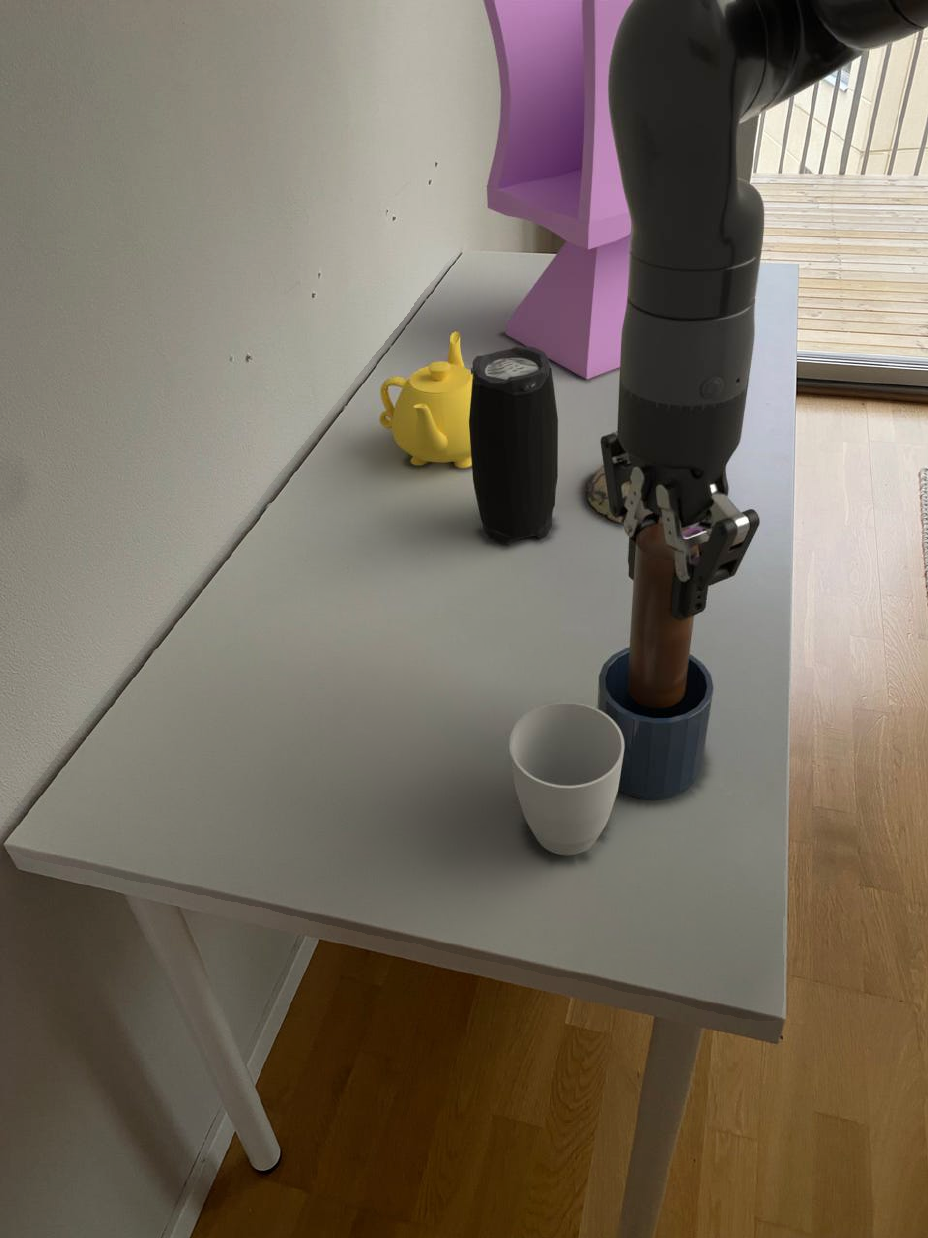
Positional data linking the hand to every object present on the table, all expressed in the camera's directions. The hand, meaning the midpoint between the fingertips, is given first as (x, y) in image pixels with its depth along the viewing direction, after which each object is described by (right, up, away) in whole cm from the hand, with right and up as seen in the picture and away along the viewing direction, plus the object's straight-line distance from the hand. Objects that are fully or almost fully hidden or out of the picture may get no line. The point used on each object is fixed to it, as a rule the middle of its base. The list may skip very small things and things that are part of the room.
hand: (664, 594), depth 66 cm
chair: (+6, +40, +74) cm, 84 cm away
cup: (-6, -18, +7) cm, 21 cm away
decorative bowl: (+8, +13, +42) cm, 44 cm away
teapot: (-17, +19, +52) cm, 58 cm away
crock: (+1, -13, +12) cm, 18 cm away
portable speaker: (-8, +9, +38) cm, 40 cm away
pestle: (+1, -7, +6) cm, 9 cm away
